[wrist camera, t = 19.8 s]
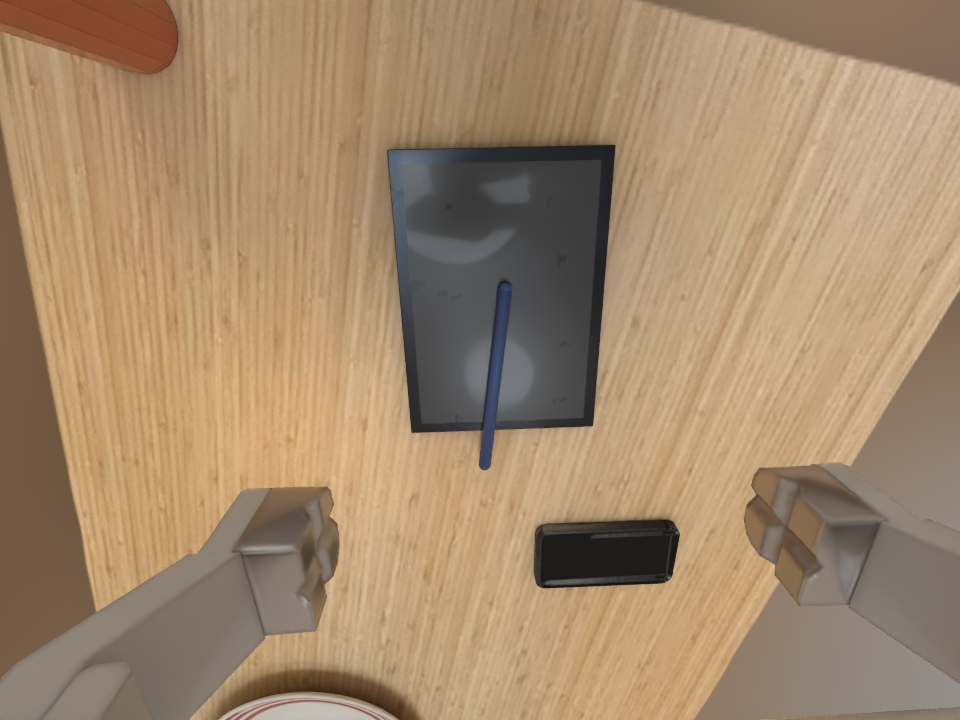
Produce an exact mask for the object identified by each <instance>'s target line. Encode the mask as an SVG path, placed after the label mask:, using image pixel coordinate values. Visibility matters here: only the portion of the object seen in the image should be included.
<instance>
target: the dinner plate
mask: <svg viewBox="0 0 960 720" xmlns="http://www.w3.org/2000/svg"><path fill="white" fill-rule="evenodd" d="M218 720H399V719H397V718H396V717H395V716H393V715H392V714H390V713H388V712H387V711H385V710H383V709H381V708H379V707H377V706H375V705H372V704H370V703H367V702H365V701H362V700H359V699H355V698H352V697H348V696H343V695H338V694H331V693H323V692H292V693H282V694H277V695H271V696H267V697H263V698H260V699H256V700H253V701H251V702H248V703H245V704H243V705H241V706H239V707H237V708H235V709H233V710H231V711H230V712H228V713H226V714H225V715H223V716H222V717H221V718H219V719H218Z"/></svg>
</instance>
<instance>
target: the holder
mask: <svg viewBox="0 0 960 720" xmlns="http://www.w3.org/2000/svg"><path fill="white" fill-rule="evenodd" d="M0 31H1V32H4V33H7V34H11V35H14V36H17V37H20V38H23V39H26V40H30V41H33V42H36V43H39V44H42V45H46V46H49V47H52V48H55V49H58V50H62V51H65V52H68V53H71V54H74V55H77V56H81V57H84V58H87V59H90V60H93V61H97V62H100V63H103V64H106V65H109V66H112V67H116V68H119V69H122V70H125V71H128V72H133V73H139V74H153V73H157V72H159V71H161V70H162V69H164V68H165V67H166V66H168V65H169V63H170V62H171V61H172V59H173V57H174V55H175V52H176V49H177V42H178V35H177V27H176V23H175V20H174V17H173V15H172V12H171V10H170V8H169V7H168V5H167V4H166V2H165V1H164V0H0Z"/></svg>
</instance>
